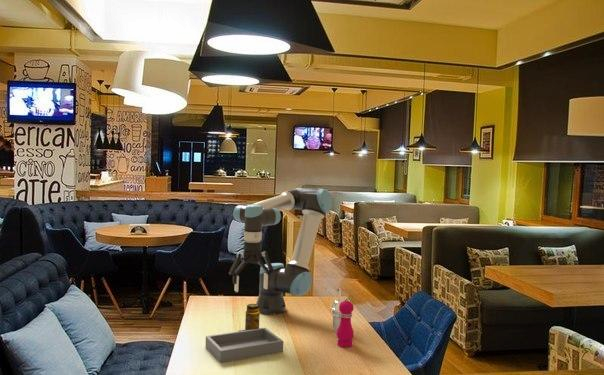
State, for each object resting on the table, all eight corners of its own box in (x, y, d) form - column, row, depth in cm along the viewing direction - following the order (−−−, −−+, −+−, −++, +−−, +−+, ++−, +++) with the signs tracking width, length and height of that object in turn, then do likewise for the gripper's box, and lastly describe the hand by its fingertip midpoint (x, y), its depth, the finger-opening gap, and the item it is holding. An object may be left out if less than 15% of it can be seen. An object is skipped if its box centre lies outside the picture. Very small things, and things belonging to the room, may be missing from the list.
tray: (265, 338, 220) (265, 327, 220) (283, 352, 205) (283, 341, 205) (205, 347, 207) (205, 336, 207) (220, 362, 192) (220, 350, 192)
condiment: (262, 333, 226) (263, 306, 225) (245, 336, 221) (246, 308, 220) (254, 328, 232) (255, 301, 231) (237, 331, 227) (238, 304, 226)
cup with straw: (351, 330, 233) (353, 286, 232) (340, 335, 226) (342, 290, 225) (336, 325, 239) (338, 282, 238) (324, 330, 232) (326, 286, 231)
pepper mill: (357, 345, 216) (359, 297, 214) (346, 349, 210) (348, 300, 209) (343, 340, 220) (345, 293, 219) (332, 344, 215) (334, 297, 214)
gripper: (228, 243, 214) (226, 294, 216) (282, 241, 226) (280, 289, 228) (222, 240, 221) (220, 290, 222) (275, 238, 233) (273, 285, 234)
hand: (251, 290), depth 225 cm, fingers open, 13 cm apart
